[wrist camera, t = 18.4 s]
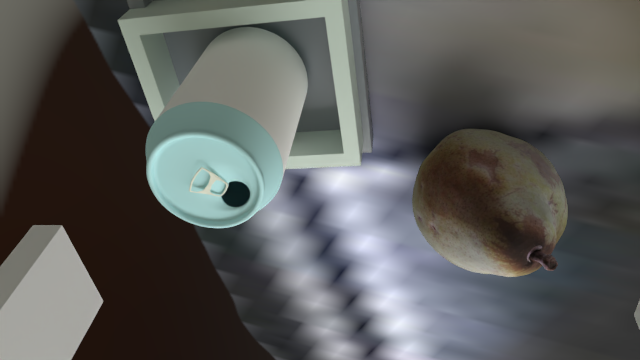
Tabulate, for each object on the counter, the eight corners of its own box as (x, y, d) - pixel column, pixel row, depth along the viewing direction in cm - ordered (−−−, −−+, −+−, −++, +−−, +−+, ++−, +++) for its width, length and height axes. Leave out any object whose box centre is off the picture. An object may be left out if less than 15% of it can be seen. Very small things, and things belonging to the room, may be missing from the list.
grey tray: (81, -191, 30) (32, -186, 26) (335, -238, 27) (324, -240, 23) (193, 147, 42) (171, 186, 38) (373, 137, 40) (369, 177, 36)
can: (299, 17, 33) (259, 115, 23) (316, 117, 37) (288, 236, 28) (190, 28, 34) (110, 126, 25) (218, 125, 38) (159, 241, 29)
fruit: (578, 155, 39) (636, 279, 29) (489, 234, 44) (513, 361, 35) (463, 82, 36) (486, 191, 27) (384, 175, 42) (378, 293, 32)
